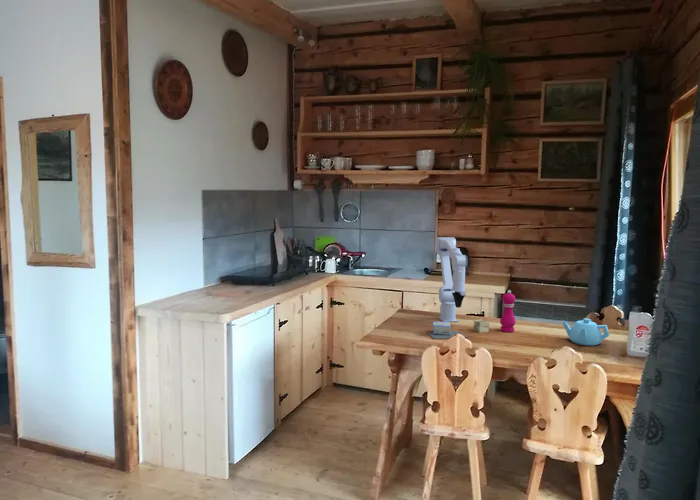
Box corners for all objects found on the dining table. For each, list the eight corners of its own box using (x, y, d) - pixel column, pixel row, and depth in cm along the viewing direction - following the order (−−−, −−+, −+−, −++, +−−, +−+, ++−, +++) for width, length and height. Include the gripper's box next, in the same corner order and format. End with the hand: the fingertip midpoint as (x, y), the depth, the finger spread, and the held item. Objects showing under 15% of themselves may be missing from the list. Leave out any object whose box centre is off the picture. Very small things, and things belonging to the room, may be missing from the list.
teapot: (580, 348, 239) (582, 324, 238) (559, 338, 254) (561, 315, 252) (610, 346, 243) (612, 322, 241) (588, 336, 257) (590, 314, 256)
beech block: (473, 330, 266) (473, 320, 266) (482, 329, 268) (482, 319, 268) (479, 333, 262) (480, 322, 261) (488, 331, 264) (488, 321, 263)
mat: (427, 333, 260) (427, 332, 260) (459, 332, 263) (459, 331, 263) (433, 339, 250) (433, 338, 250) (467, 338, 253) (467, 337, 253)
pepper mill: (498, 331, 264) (500, 290, 262) (500, 328, 271) (502, 288, 268) (514, 333, 261) (516, 292, 259) (515, 329, 268) (517, 289, 266)
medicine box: (449, 321, 263) (450, 326, 255) (449, 330, 264) (450, 335, 255) (432, 321, 264) (433, 325, 255) (432, 330, 265) (433, 334, 256)
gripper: (446, 277, 274) (445, 304, 276) (455, 282, 260) (454, 310, 262) (460, 277, 275) (459, 303, 277) (470, 282, 261) (469, 310, 262)
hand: (458, 307), depth 269 cm, fingers closed
